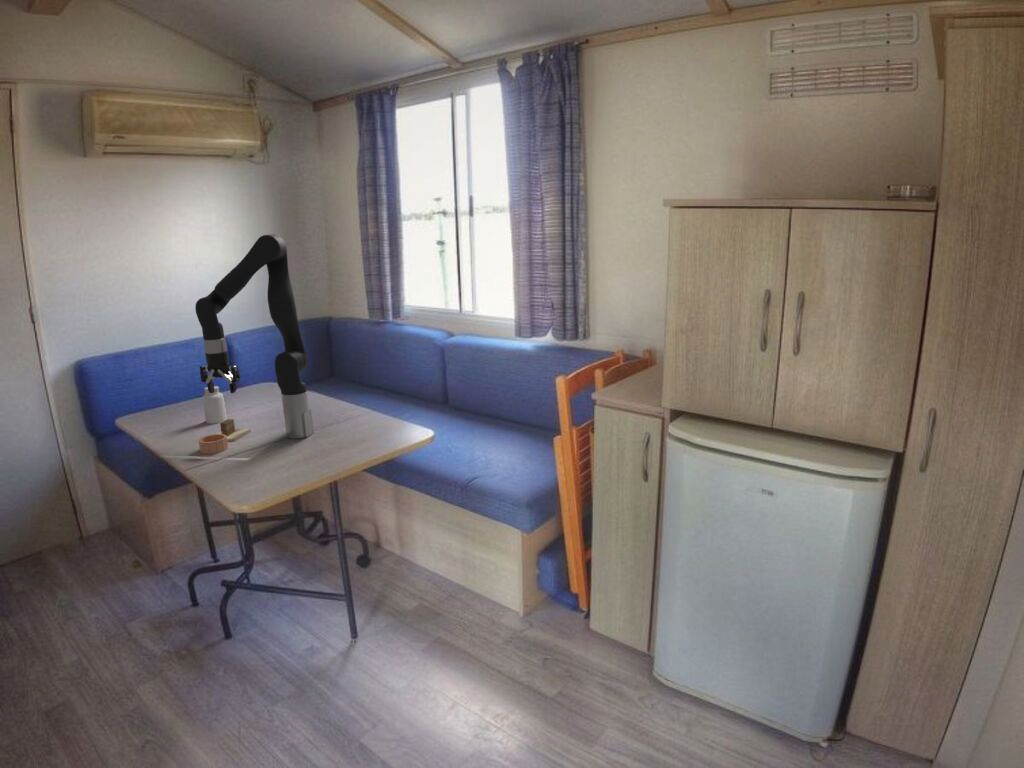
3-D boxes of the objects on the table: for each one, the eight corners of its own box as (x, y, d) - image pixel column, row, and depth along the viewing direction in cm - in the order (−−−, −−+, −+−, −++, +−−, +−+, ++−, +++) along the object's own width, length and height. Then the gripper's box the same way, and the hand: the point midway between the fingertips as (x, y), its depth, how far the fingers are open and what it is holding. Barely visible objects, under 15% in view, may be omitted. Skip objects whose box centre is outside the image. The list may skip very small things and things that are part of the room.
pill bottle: (219, 418, 259) (214, 384, 255) (231, 421, 255) (226, 386, 251) (202, 423, 252) (196, 388, 249) (214, 426, 248) (208, 391, 245)
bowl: (233, 447, 225) (231, 434, 224) (219, 456, 217) (217, 443, 215) (210, 446, 227) (208, 433, 225) (195, 455, 218) (193, 442, 217)
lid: (250, 431, 240) (248, 417, 238) (234, 441, 229) (232, 426, 228) (224, 430, 241) (221, 416, 240) (207, 440, 231) (204, 425, 229)
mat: (252, 432, 240) (252, 430, 240) (235, 443, 229) (234, 441, 229) (223, 431, 242) (223, 430, 242) (205, 442, 230) (205, 440, 230)
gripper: (239, 348, 229) (245, 390, 233) (204, 348, 231) (211, 389, 235) (228, 352, 222) (234, 395, 226) (191, 352, 224) (199, 395, 228)
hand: (222, 392), depth 231 cm, fingers open, 8 cm apart
